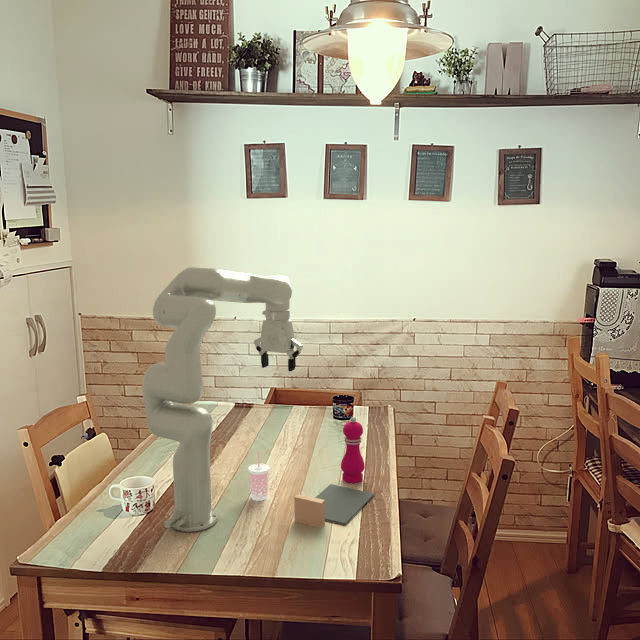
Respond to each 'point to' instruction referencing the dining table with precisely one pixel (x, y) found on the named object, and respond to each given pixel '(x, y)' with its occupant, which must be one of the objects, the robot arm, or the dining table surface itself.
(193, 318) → the robot arm
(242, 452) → the dining table surface
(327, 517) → the mat
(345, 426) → the pepper mill
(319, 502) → the tile
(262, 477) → the beverage cup
